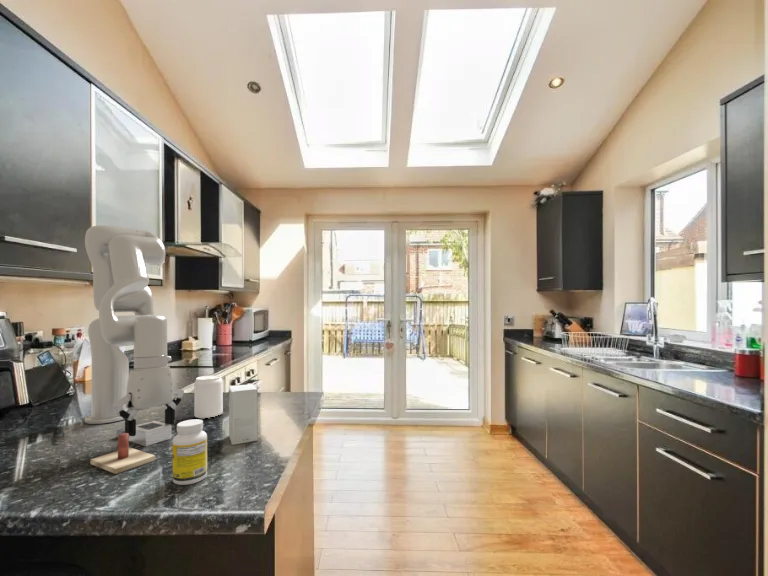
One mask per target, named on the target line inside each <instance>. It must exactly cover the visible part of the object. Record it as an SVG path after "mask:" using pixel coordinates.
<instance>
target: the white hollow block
mask: <svg viewBox="0 0 768 576" xmlns="http://www.w3.org/2000/svg"><path fill="white" fill-rule="evenodd" d="M172 426H173V425H170V424H166V423H165V422H161V421H158V420H152V421H148V422H144V423H142V424H140V425H136V435H135V436H129V442H130V443H133V444H137V445H140V446H144V447H148V446H151V445H155V444H158V443H161V442H164V441H167V440H171V439H172V432H173V431H172V430H173V429H172V428H173V427H172Z"/></svg>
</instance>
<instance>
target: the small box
mask: <svg viewBox="0 0 768 576" xmlns="http://www.w3.org/2000/svg"><path fill="white" fill-rule="evenodd" d="M228 395H229V396H228V402H229V403H228V404H229V405H228V412H229V413H228V426H229V427H228V428H229V429H228V437H229V440H230V443H231V445H232V446H233V445H239V444H244V443H251V442H252V443H253V442H256V441H259V440H258V439H259V437H258V436H259V427H258V423H259V422H258V419H259V418H258V417H259V414H258V410H259V409H258V408H259V407H258V405H259V404H258V388H257V387H256V385H255V384H253V383H250V384H240V385H231V386H229V387H228Z"/></svg>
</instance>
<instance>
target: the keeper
mask: <svg viewBox="0 0 768 576" xmlns="http://www.w3.org/2000/svg"><path fill="white" fill-rule="evenodd" d="M129 442H130V441H129V433H123V434H119V435H118V437H117V451H113V452H110V453H106V454H103V455H100V456H97V457H93V458H90V462H89V463H90V465H92V466H94V467H98V468H100V469H102V470H105V471H108V472H109V473H112V474H115V475H117V474H120V473H122V472H126V471H129V470H131V469H134V468H137V467H140V466H142V465H146V464H149V463H151V462H154V461H156V455H154V454H152V453H148V452H146V451H142V450H138V449H136V448H133V447H129V446H130V445H129V444H130V443H129Z"/></svg>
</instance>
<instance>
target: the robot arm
mask: <svg viewBox="0 0 768 576" xmlns="http://www.w3.org/2000/svg"><path fill="white" fill-rule="evenodd" d="M84 246H85V249H86V250H85V251H86V254H87V257H88V259H89V261H90V264H91V267H92V280H93V281H92V286H93V303H94V308H95V309H96V310H97V311H98V317H99V318H96V319H93V320H92V321H91V322H90V324H89V325H88V329H87V334H88V339H89V345H90V352H91V354H90V355H91V356H90V357H91V393H90V394H91V398H90V399H91V404H90V405H91V406H90V409H91V410H90V411H91V412H90V413H91V414H89V415H87V416H86V417H84V423H85V424H89V425H98V424H99V425H100V424H101V425H102V424H108V423H114V422H115V423H116V422H120V421H124V427H125V433H129V436H135V435H136V424H137V420H136V419H135V417H136V416H137V414H138V412H140V411H143V410H147V409H152V408H157V407H161V406H165V408H166V409H164V423H166V424H170V425H172V426H174V425H175V420H176V409H178V406H179V404H180V403H181V401H182V398H183V396H184V394H185V391H184V390H183V389H180V388H178V387H174V383H173V375H172V371H171V366H170V365H168V364H169V362H171V361H172V360H173V358H172V356H171V355H169V354H168V319H167V318H166V316H164V315H154V297H153V293H152V292H153V291H152V290H151V288H150V287H149V286H148V285H149V284H150V278H149V273H148V267H147V265H150V266H155V265H156V266H159V265H161V264H163V263H164V261H165V259H166V248H165V245H164V243H163V241H162V240H161V238H159V236H157V235H155V234H153V233H152V232H151V231H149V230H145V229H140V228H131V227H123V226H115V225H94V226H90V227H89V228H87V230H86V232H85V237H84ZM115 313H133V314H134V315H133V314H132V315H131V314H130V315H115ZM128 346H133V369H130V367H129V366H130V361H129V358H128V356H127V355H126V353H124V352H123V351H122V350H121V349H120V348H121V347H128ZM129 369H130V370H129ZM174 394H175V397H174Z"/></svg>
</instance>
